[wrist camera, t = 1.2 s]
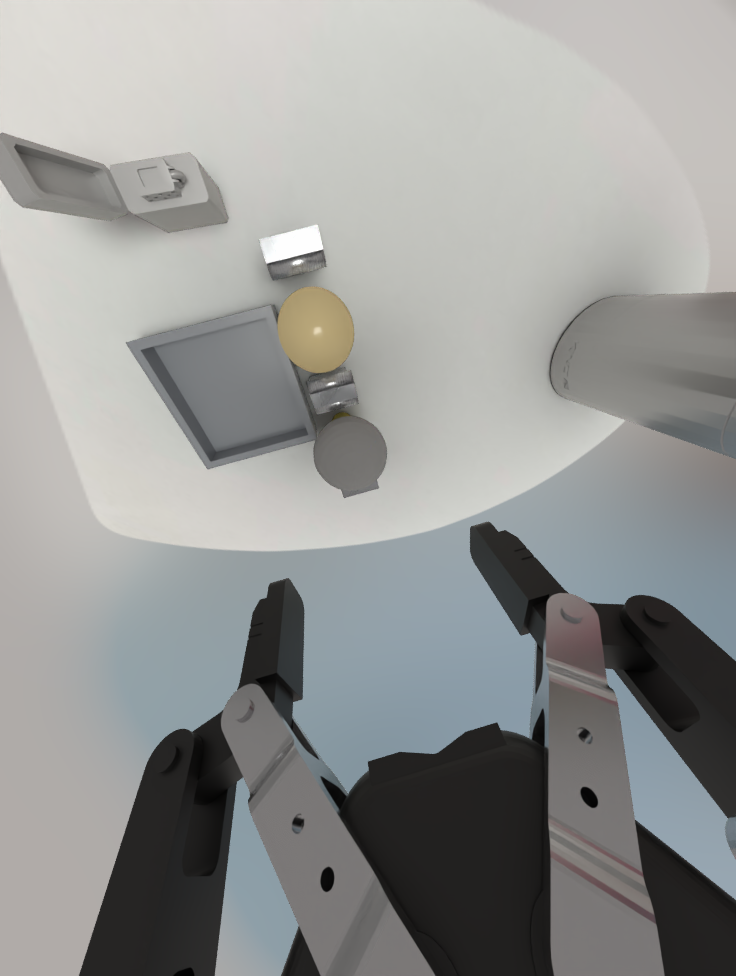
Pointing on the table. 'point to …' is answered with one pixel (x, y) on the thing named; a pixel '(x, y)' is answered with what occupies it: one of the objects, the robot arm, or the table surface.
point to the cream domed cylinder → (315, 329)
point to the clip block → (297, 257)
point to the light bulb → (350, 452)
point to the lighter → (111, 186)
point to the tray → (229, 386)
